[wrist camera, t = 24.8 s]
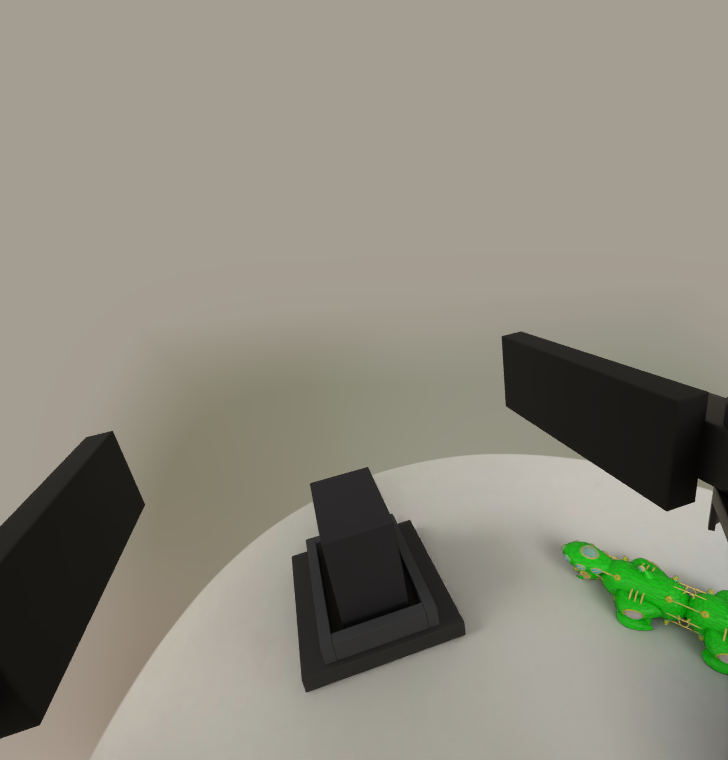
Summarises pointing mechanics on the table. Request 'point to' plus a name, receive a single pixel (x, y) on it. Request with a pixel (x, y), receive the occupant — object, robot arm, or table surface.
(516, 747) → the table surface
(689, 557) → the table surface
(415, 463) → the table surface
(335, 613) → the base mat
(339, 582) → the pad block
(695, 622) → the crocodile figurine
